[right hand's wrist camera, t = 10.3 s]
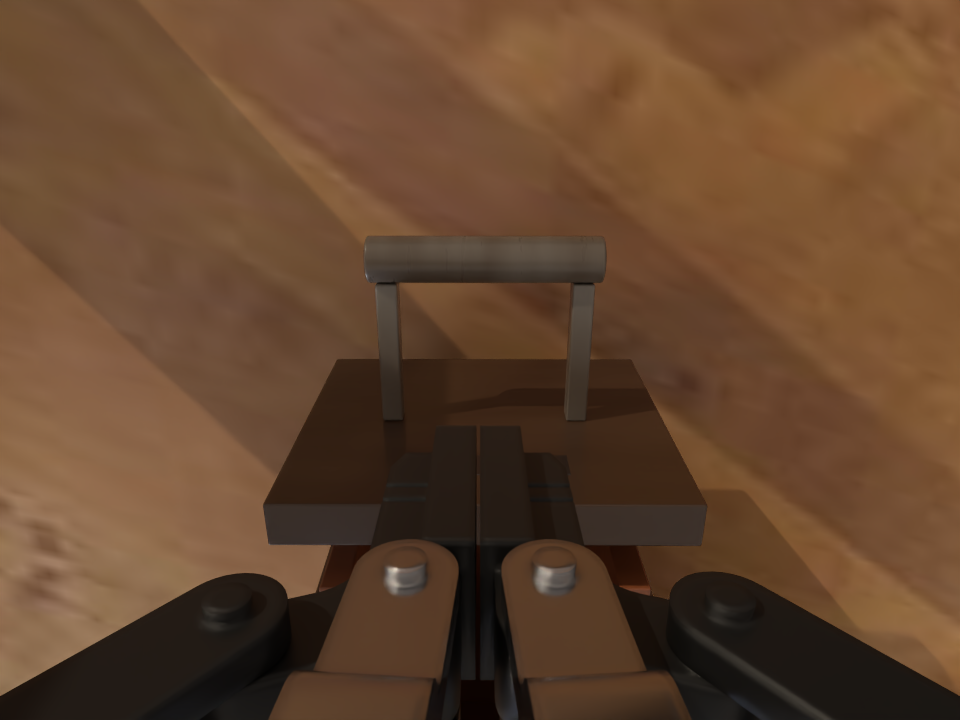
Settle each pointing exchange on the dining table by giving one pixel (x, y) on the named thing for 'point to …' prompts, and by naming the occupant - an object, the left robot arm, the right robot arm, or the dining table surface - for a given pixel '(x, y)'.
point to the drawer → (487, 421)
